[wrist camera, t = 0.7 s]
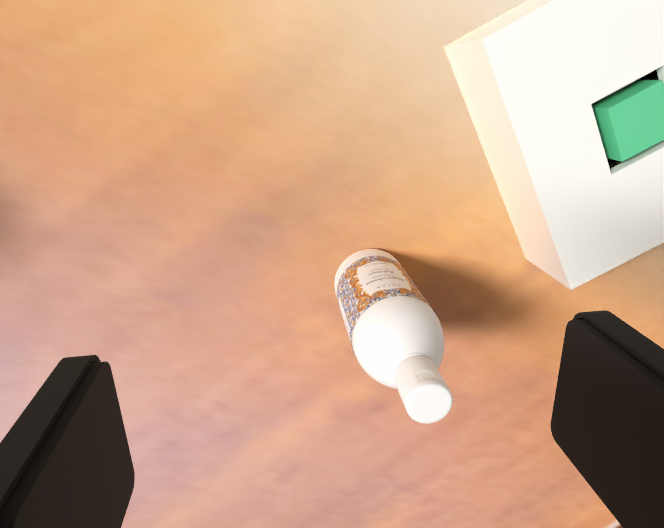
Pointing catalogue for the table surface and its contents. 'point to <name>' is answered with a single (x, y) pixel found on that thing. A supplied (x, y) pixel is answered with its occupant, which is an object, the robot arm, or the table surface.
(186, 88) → the table surface
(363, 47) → the table surface
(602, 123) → the breaker button
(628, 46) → the box
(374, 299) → the bath foam
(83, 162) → the table surface
